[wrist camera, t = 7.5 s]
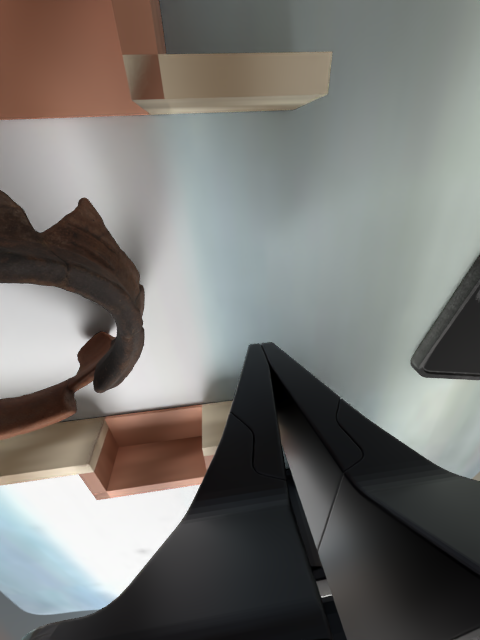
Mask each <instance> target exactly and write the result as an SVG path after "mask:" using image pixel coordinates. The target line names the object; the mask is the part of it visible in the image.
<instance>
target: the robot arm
mask: <svg viewBox="0 0 480 640" xmlns="http://www.w3.org/2000/svg"><path fill="white" fill-rule="evenodd" d="M229 413H230V414H229V415H228V418H227V422H226V425H225V428H224V431H223V434H222V437H221V440H220V442H219V444H218V447H217V449H216V452H215V454H214V456H213V459H212V461H211V463H210V465H209V467H208V469H207V472H206V474H205V476H204V478H203V480H202V483H201V485H200V487H199V489H198V491H197V494H196V496H195V498H194V500H193V502H192V504H191V506H190V508H189V509H188V511H187V513H186V515H185V516H184V518H183V519H182V521H181V522H180V524H179V525H178V526H177V527H176V529H175V530H174V531H173V532H172V534H171V535H170V536H169V537H168V538H167V540H166V541H165V542H164V543H163V544H162V546H161V547H160V548H159V549H158V551H157V552H156V553H155V554H154V555H153V557H152V558H151V559H150V560H149V562H148V563H147V564H146V565H145V566H144V568H143V569H142V570H141V571H140V573H139V574H138V575H137V576H136V577H135V579H134V580H133V581H132V582H131V584H130V585H129V586H128V587H127V588H126V589H125V590H124V591H123V592H122V593H121V595H120V596H119V597H117V598H116V599H115V600H114V601H112V602H111V603H110V604H109V605H107V606H106V607H104V608H102V609H100V610H99V611H97V612H95V613H93V614H90V615H87V616H84V617H79V618H74V619H69V620H63V621H59V622H55V623H50V624H47V625H44V626H41V627H39V628H36V629H35V630H32V631H31V632H29V633H28V634H27V635H26V636H24V637H23V638H22V639H21V640H480V481H477V480H473V479H469V478H466V477H462V476H459V475H457V474H454V473H451V472H449V471H447V470H445V469H443V468H441V467H439V466H437V465H436V464H434V463H432V462H431V461H429V460H427V459H426V458H424V457H423V456H421V455H420V454H419V453H417V452H416V451H414V450H413V449H411V448H410V447H408V446H407V445H405V444H404V443H402V442H401V441H399V440H398V439H396V438H395V437H393V436H392V435H390V434H389V433H387V432H386V431H384V430H383V429H382V428H380V427H379V426H377V425H376V424H374V423H373V422H372V421H370V420H369V419H367V418H366V417H365V416H363V415H362V414H361V413H359V412H358V411H357V410H356V409H354V408H353V407H352V406H350V405H349V404H348V403H347V402H345V401H344V400H343V399H340V397H339V396H338V395H337V394H336V393H334V392H333V391H332V390H331V389H329V388H328V387H327V386H326V385H324V384H323V383H322V382H321V381H320V380H318V379H317V378H316V377H315V376H313V375H312V374H311V373H310V372H308V371H307V370H306V369H305V368H304V367H302V366H301V365H300V364H299V363H297V362H296V361H295V360H294V359H292V358H291V357H290V356H289V355H288V354H286V353H285V352H284V351H283V350H281V349H280V348H279V347H278V346H276V345H275V344H274V343H272V342H267V343H262V344H259V343H258V344H250V345H249V346H248V350H247V353H246V357H245V360H244V364H243V367H242V371H241V374H240V378H239V381H238V384H237V388H236V391H235V395H234V398H233V402H232V405H231V409H230V412H229ZM281 443H282V444H281ZM282 446H283V449H284V452H285V455H286V458H287V461H288V464H289V467H290V470H286V469H285V463H284V456H283V450H282ZM329 594H332V596H328V597H324V598H321V596H325V595H329Z"/></svg>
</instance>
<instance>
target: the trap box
mask: <svg viewBox="0 0 480 640" xmlns="http://www.w3.org/2000/svg"><path fill="white" fill-rule="evenodd" d="M331 61H332V52H278V53H212V54H166V47H165V40H164V33H163V25H162V18H161V11H160V3H159V0H0V120H13V119H43V118H72V117H101V116H131V115H160V114H189V113H218V112H248V111H277V110H295V109H297V108H299V107H301V106H304V105H306V104H308V103H310V102H312V101H314V100H317V99H319V98H321V97H323V96H325V95H327V94H328V89H329V80H330V70H331ZM232 402H233V400H232V401H225V402H217V403H209V404H201V405H193V406H185V407H177V408H169V409H161V410H154V411H146V412H138V413H130V414H122V415H114V416H106V417H98V418H91V419H83V420H75V421H67V422H59V423H55V424H52V425H49V426H46V427H44V428H41V429H38V430H35V431H32V432H29V433H26V434H21V435H17V436H14V437H11V438H8V439H4V440H0V485H7V484H14V483H21V482H28V481H35V480H42V479H49V478H56V477H63V476H70V475H77V474H79V476H80V477H81V478H82V480H83V481H84V483H85V484H86V485H87V487H88V488H89V490H90V491H91V492H92V494H93V495H94V497H95V498H96V499H97V500H101V499H108V498H114V497H121V496H127V495H134V494H140V493H147V492H153V491H160V490H167V489H173V488H180V487H186V486H193V485H199V484H201V483H202V480H203V478H204V476H205V474H206V472H207V469H208V467H209V465H210V463H211V461H212V459H213V456H214V454H215V452H216V449H217V447H218V444H219V442H220V440H221V437H222V434H223V431H224V428H225V425H226V422H227V418H228V415H229V414H230V413H229V412H230V409H231V405H232ZM281 444H282V443H281Z"/></svg>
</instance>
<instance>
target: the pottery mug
mask: <svg viewBox="0 0 480 640" xmlns="http://www.w3.org/2000/svg"><path fill="white" fill-rule="evenodd" d="M139 281H140V275H139V272H138V270H137V269H136V267H135V265H134V264H133V262H132V261H131V260H130V259H129V258H128V257H127V256H126V254H125V253H124V252H123V251H122V250H121V249H120V247H119V246H118V244H117V243H116V242H115V240H114V238H113V237H112V236H111V234H110V232H109V231H108V230H107V228H106V227H105V225H104V223H103V220H102V218H101V216H100V215H99V214H98V212H97V211H96V209H95V208H94V207H93V205H92V204H91V203H90V201H89V200H88V199H87V198H81V199H80V200H79V202H78V206H77V207H76V208H75V210H74V211H73V212H71V213H70V214H68V215H66V216H65V217H64V218H63V219H61V220H60V221H59V222H58V223H57V224H55V225H53V226H52V227H51V228H49V229H47V230H45V231H44V232H42V233H39V232H37V231H35V230H34V229H33V227H32V225H31V224H30V222H29V220H28V218H27V216H26V213H25V212H24V210H23V209H22V208H21V207H20V206H19V205H18V204H16V203H15V202H14V201H13V200H12V199H11V198H10V197H9V196H8V195H7V194H5V193H4V192H2V191H1V190H0V283H21V284H23V283H29V284H37V285H45V286H55V287H58V288H62V289H64V290H67V291H70V292H74V293H77V294H79V295H81V296H83V297H85V298H87V299H89V300H91V301H93V302H95V303H97V304H99V305H101V306H102V307H103V308H104V309H106V310H107V311H108V312H109V313H111V315H112V317H113V318H114V319H115V322H116V325H117V336H116V337H113V336H111V335H109V334H108V333H106V332H103V331H101V332H99V333H97V334H95V335H94V336H93V337H92V338H91V339H90V340H89V341H88V342H87V343H86V344H85V345H84V346H83V347H82V348H81V349H80V351H79V352H78V355H77V357H78V361H79V363H80V368H79V370H78V372H77V375H76V376H74V377H72V378H69V379H68V380H66V381H64V382H62V383H59V384H57V385H54V386H52V387H49V388H46V389H43V390H40V391H37V392H34V393H32V394H27V395H23V396H20V397H14V398H6V399H0V440H4V439H8V438H11V437H14V436H17V435H21V434H26V433H29V432H32V431H35V430H38V429H41V428H44V427H46V426H49V425H52V424H55V423H57V422H60V421H62V420H64V419H66V418H68V417H70V416H71V415H73V414H75V413H76V412H77V405H76V400H75V398H74V393H75V392H76V391H77V390H79V389H80V388H82V387H84V386H86V385H88V384H89V383H91V382H92V381H93V385H94V390H95V391H96V392H97V393H103V392H105V391H107V390H109V389H111V388H114V387H116V386H118V385H119V384H120V383H122V382H123V380H124V379H125V378H126V377H127V376H128V374H129V373H130V372H131V371H132V369H133V367H134V365H135V364H136V362H137V360H138V359H139V357H140V354H141V352H142V349H143V346H144V328H143V327H142V325H143V320H142V315H143V310H144V299H145V298H144V296H145V294H144V288H143V286H142V285H141V284H139Z"/></svg>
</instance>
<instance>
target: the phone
mask: <svg viewBox="0 0 480 640" xmlns="http://www.w3.org/2000/svg"><path fill="white" fill-rule="evenodd" d="M411 366H412V367H413V368H414V369H415V370H416V371H417V372H418V373H419V374H420V375H421V376H422V377H426V378H446V379H467V380H480V255H479V257H478V258H477V260H476V261H475V263H474V264H473V266H472V267H471V269H470V270H469V272H468V273H467V275H466V276H465V278H464V279H463V281H462V282H461V284H460V285H459V287H458V288H457V290H456V291H455V293H454V294H453V296H452V297H451V299H450V300H449V302H448V303H447V305H446V306H445V308H444V309H443V311H442V313H441V314H440V316H439V317H438V319H437V320H436V322H435V323H434V325H433V326H432V328H431V329H430V331H429V332H428V334H427V335H426V337H425V338H424V340H423V341H422V343H421V344H420V346H419V347H418V349H417V350H416V352H415V353H414V355H413V357H412V359H411Z"/></svg>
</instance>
